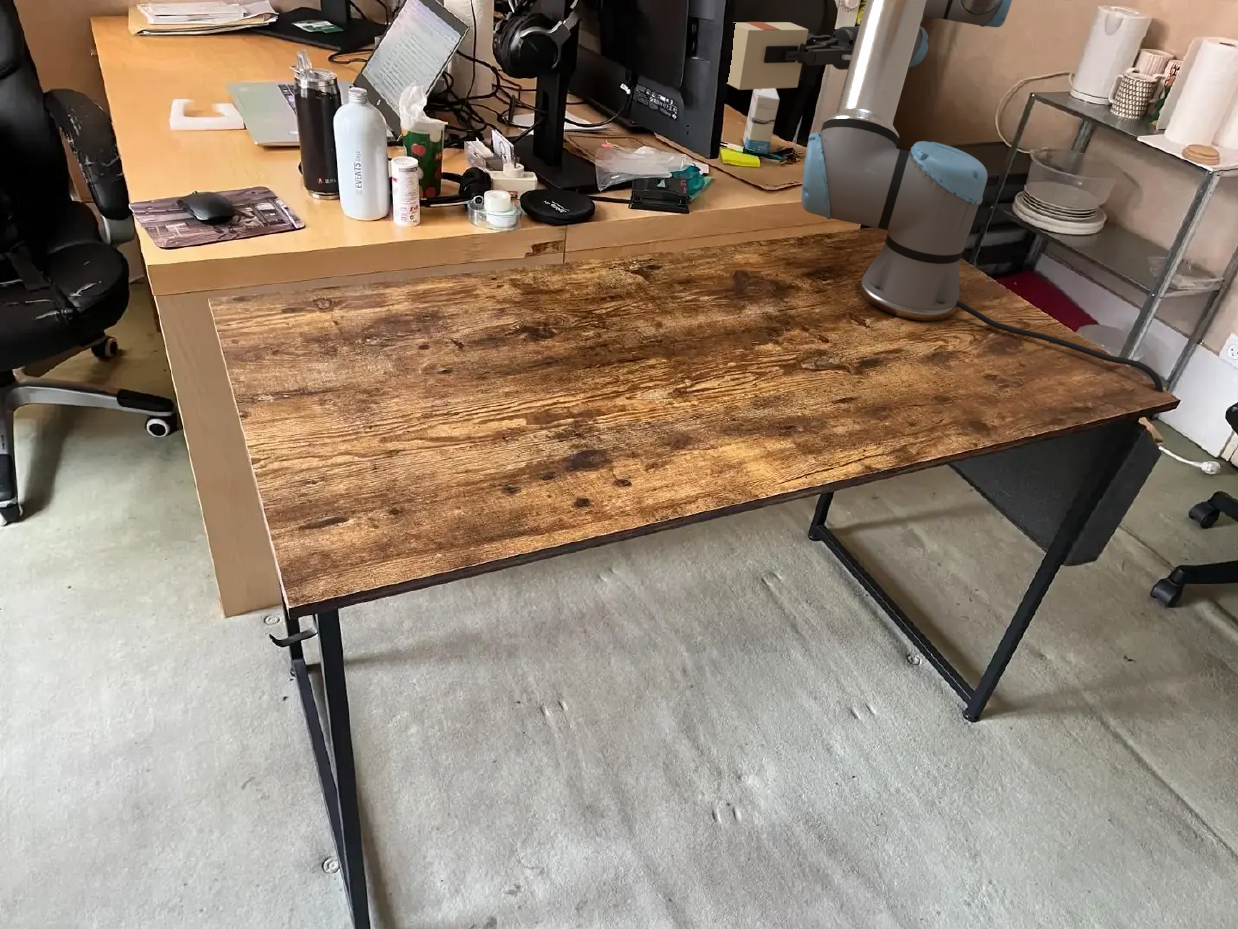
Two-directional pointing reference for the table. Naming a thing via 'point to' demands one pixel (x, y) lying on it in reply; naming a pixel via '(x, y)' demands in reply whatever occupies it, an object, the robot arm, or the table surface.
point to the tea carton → (751, 53)
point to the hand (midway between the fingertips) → (756, 49)
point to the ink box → (761, 120)
